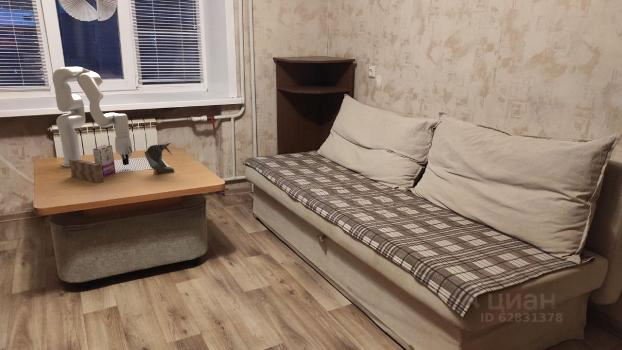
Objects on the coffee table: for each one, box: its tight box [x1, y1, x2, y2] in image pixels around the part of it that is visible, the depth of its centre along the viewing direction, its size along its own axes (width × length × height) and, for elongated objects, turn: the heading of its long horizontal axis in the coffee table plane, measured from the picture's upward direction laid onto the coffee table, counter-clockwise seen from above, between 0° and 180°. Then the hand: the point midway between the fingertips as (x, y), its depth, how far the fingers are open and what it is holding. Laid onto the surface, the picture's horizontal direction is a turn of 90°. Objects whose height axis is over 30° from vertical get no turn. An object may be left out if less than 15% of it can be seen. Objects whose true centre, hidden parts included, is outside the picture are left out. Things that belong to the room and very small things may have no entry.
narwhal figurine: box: [144, 142, 175, 175], centre depth 260 cm, size 14×15×18 cm
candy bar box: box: [92, 144, 116, 178], centre depth 256 cm, size 11×5×16 cm, turn 168°
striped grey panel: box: [69, 159, 104, 184], centre depth 247 cm, size 24×3×10 cm, turn 60°
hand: (126, 164), depth 269 cm, fingers closed
